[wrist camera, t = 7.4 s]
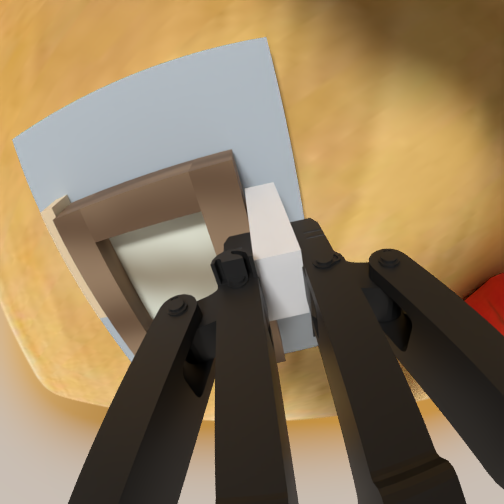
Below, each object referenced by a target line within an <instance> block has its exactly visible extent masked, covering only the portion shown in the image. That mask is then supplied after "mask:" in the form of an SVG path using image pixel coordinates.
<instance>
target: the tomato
mask: <svg viewBox="0 0 504 504" xmlns="http://www.w3.org/2000/svg"><path fill="white" fill-rule="evenodd" d="M465 302H466V303H467V304H468V305H470V306H471V307H472V308H473V309H474V310H475V311H477V312H478V313H479V314H480V315H481V316H482V317H483V318H485V319H486V320H487V321H488V322H489V323H490V324H491V325H492V326H493V327H495V328H496V329H497V330H498V331H499V332H500V333H501V334H502V335H503V336H504V272H503V273H500V274H498V275H496V276H494V277H491V278H490V279H489V280H488V281H487V282H486V283H484V284H483V285H482V286H481V287H480V288H479V289H478V290H476V291H475V292H474V293H473V294H472V295H470V296H469V297H468V298H467V299H466V300H465Z"/></svg>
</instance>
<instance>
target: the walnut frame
mask: <svg viewBox="0 0 504 504" xmlns="http://www.w3.org/2000/svg"><path fill="white" fill-rule="evenodd" d="M53 222H54V224H55V226H56V228H57V230H58V233H59V235H60V236H61V238H62V240H63V242H64V244H65V246H66V248H67V250H68V252H69V254H70V256H71V257H72V259H73V261H74V263H75V265H76V267H77V268H78V270H79V272H80V274H81V275H82V277H83V279H84V280H85V282H86V284H87V286H88V287H89V289H90V290H91V292H92V294H93V295H94V297H95V299H96V300H97V302H98V303H99V305H100V307H101V308H102V310H103V311H104V313H105V314H106V316H107V317H108V319H109V320H110V322H111V323H112V325H113V326H114V328H115V329H116V331H117V332H118V333H119V335H120V336H121V338H122V339H123V340H124V342H125V343H126V345H127V346H128V347H129V349H130V350H131V351H132V353H133V354H134V356H135V354H136V352H137V350H138V348H139V346H140V345H141V343H142V341H143V339H144V337H145V335H146V333H147V331H148V329H149V327H150V325H151V324H152V322H153V320H154V318H155V316H156V314H157V312H158V310H159V309H160V307H161V306H162V305H163V303H164V302H166V301H167V300H168V299H170V298H172V297H174V296H176V295H181V294H188V295H192V296H193V297H195V299H196V301H198V300H200V299H203V298H205V297H207V296H209V295H211V294H212V293H214V292H215V291H216V290H217V289H218V285H217V282H216V279H215V277H214V274H213V271H212V268H211V265H210V264H211V262H212V260H213V259H214V258H215V257H216V256H217V255H219V254H220V253H222V252H224V243H225V241H226V240H227V238H228V237H229V236H234V235H238V234H243V233H247V232H250V228H249V220H248V212H247V204H246V201H245V197H244V193H243V189H242V186H241V182H240V178H239V174H238V171H237V167H236V163H235V159H234V156H233V152H232V149H230V150H226V151H222V152H219V153H215V154H211V155H208V156H204V157H201V158H197V159H194V160H190V161H187V162H183V163H180V164H177V165H174V166H170V167H167V168H164V169H161V170H158V171H155V172H152V173H149V174H146V175H143V176H140V177H137V178H134V179H132V180H129V181H126V182H123V183H120V184H118V185H115V186H112V187H110V188H107V189H104V190H102V191H99V192H97V193H94V194H92V195H89V196H87V197H84V198H82V199H79V200H77V201H75V202H72V203H71V204H69V205H68V206H67V207H66V208H65V209H64V210H63V211H62V212H61V213H60V214H59V215H58V216H57V217H55V218H54V219H53ZM269 322H270V326H271V330H272V335H273V342H274V348H275V354H276V361H277V363H279V362H284V361H286V360H285V355H284V350H283V344H282V339H281V335H280V331H279V327H278V323H277V320H273V321H269Z"/></svg>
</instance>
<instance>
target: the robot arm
mask: <svg viewBox="0 0 504 504" xmlns="http://www.w3.org/2000/svg"><path fill="white" fill-rule="evenodd" d="M245 196H246V204H247V212H248V220H249V228H250V232H247V233H243V234H238V235H234V236H229V237H228V238H227V240H226V241H225V243H224V252H222V253H220V254H219V255H217V256H216V257H215V258H214V259H213V260H212V262H211V264H210V265H211V268H212V271H213V274H214V277H215V279H216V282H217V285H218V289H217V290H216V291H215V292H214V293H212V294H211V295H209V296H207V297H205V298H203V299H200V300H198V301H196V299H195V297H193V296H192V295H188V294H181V295H176V296H174V297H172V298H170V299H168V300H167V301H166V302H164V303H163V305H162V306H161V307H160V309H159V310H158V312H157V314H156V316H155V318H154V320H153V322H152V324H151V325H150V327H149V329H148V331H147V333H146V335H145V337H144V339H143V341H142V343H141V345H140V346H139V348H138V350H137V352H136V354H135V356H134V358H133V360H132V362H131V364H130V366H129V368H128V370H127V372H126V374H125V376H124V378H123V380H122V382H121V384H120V386H119V388H118V390H117V393H116V395H115V397H114V399H113V401H112V403H111V405H110V407H109V409H108V411H107V414H106V416H105V418H104V420H103V422H102V424H101V427H100V429H99V431H98V433H97V436H96V438H95V440H94V442H93V445H92V447H91V449H90V451H89V454H88V456H87V458H86V461H85V463H84V465H83V468H82V470H81V473H80V475H79V477H78V480H77V482H76V485H75V487H74V490H73V492H72V495H71V497H70V500H69V502H68V504H177V503H178V500H179V497H180V493H181V490H182V487H183V483H184V480H185V476H186V473H187V470H188V467H189V463H190V460H191V456H192V453H193V450H194V446H195V443H196V440H197V436H198V433H199V430H200V426H201V423H202V420H203V416H204V413H205V409H206V406H207V403H208V399H209V396H210V393H211V389H212V386H213V383H214V379H215V482H216V483H215V485H216V504H298V497H297V491H296V484H295V477H294V470H293V464H292V457H291V450H290V444H289V437H288V431H287V425H286V418H285V411H284V405H283V399H282V392H281V386H280V380H279V373H278V367H277V361H276V354H275V348H274V342H273V335H272V330H271V326H270V322H269V321H273V320H278V319H283V318H287V317H292V316H296V315H301V314H305V313H309V309H310V312H311V320H312V329H313V337H315V336H316V339H317V342H318V346H319V349H320V353H321V356H322V360H323V363H324V367H325V371H326V374H327V378H328V381H329V385H330V389H331V392H332V396H333V400H334V404H335V407H336V411H337V415H338V419H339V423H340V426H341V430H342V434H343V438H344V442H345V446H346V450H347V454H348V458H349V463H350V467H351V471H352V475H353V479H354V483H355V488H356V492H357V497H358V504H466V501H465V498H464V495H463V491H462V488H461V485H460V482H459V480H458V476H457V475H456V472H455V470H454V468H453V466H452V465H451V464H450V463H449V461H448V460H446V459H443V458H441V457H440V456H439V455H438V454H437V453H436V450H435V448H434V446H433V443H432V440H431V438H430V435H429V433H428V430H427V428H426V425H425V423H424V420H423V418H422V415H421V413H420V410H419V408H418V406H417V403H416V401H415V399H414V396H413V394H412V392H411V389H410V387H409V385H408V383H407V380H406V378H405V376H404V374H403V372H402V369H401V367H400V365H399V363H398V361H397V359H398V360H399V361H400V362H401V363H402V365H403V366H404V367H405V368H406V369H407V371H408V372H409V373H410V374H411V375H412V377H413V378H414V379H415V380H416V381H417V383H418V384H419V385H420V386H421V388H422V389H423V390H424V391H425V392H426V394H427V395H428V396H429V397H430V399H431V400H432V401H433V402H434V403H435V405H436V406H437V407H438V408H439V410H440V411H441V412H442V413H443V415H444V416H445V417H446V418H447V420H448V421H449V422H450V423H451V425H452V426H453V427H454V429H455V430H456V431H457V432H458V434H459V435H460V436H461V438H462V439H463V440H464V442H465V443H466V444H467V446H468V447H469V448H470V449H471V451H472V452H473V453H474V455H475V456H476V457H477V459H478V460H479V461H480V463H481V464H482V465H483V467H484V468H485V470H486V471H487V472H488V473H489V475H490V476H491V477H492V478H493V479H494V481H495V482H496V483H497V484H498V485H499V486H501V487H502V488H503V489H504V336H503V335H502V334H501V333H500V332H499V331H498V330H497V329H496V328H495V327H493V326H492V325H491V324H490V323H489V322H488V321H487V320H486V319H485V318H483V317H482V316H481V315H480V314H479V313H478V312H477V311H475V310H474V309H473V308H472V307H471V306H470V305H468V304H467V303H466V302H465V301H464V300H463V299H461V298H460V297H459V296H458V295H457V294H455V293H454V292H453V291H452V290H450V289H449V288H448V287H447V286H446V285H444V284H443V283H442V282H441V281H439V280H438V279H437V278H435V277H434V276H433V275H432V274H430V273H429V272H428V271H427V270H425V269H424V268H423V267H421V266H420V265H419V264H417V263H416V262H415V261H413V260H412V259H411V258H409V257H408V256H407V255H405V254H404V253H402V252H400V251H398V250H394V249H381V250H378V251H376V252H374V253H373V254H371V256H370V258H369V262H367V263H354V262H348V261H346V260H345V259H344V257H343V256H342V255H341V254H339V253H337V252H335V251H334V250H333V249H332V247H331V245H330V243H329V241H328V240H327V238H326V236H325V235H324V233H323V231H322V230H321V227H320V226H319V224H318V222H316V221H314V220H313V219H311V218H308V219H303V220H298V221H294V222H290V221H289V219H288V216H287V214H286V211H285V209H284V206H283V204H282V201H281V199H280V197H279V194H278V192H277V189H276V187H275V185H274V182H272V183H267V184H263V185H258V186H253V187H249V188H245ZM395 356H396V357H395ZM396 358H397V359H396Z"/></svg>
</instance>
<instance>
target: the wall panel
mask: <svg viewBox="0 0 504 504" xmlns="http://www.w3.org/2000/svg"><path fill="white" fill-rule="evenodd" d="M12 140H13V143H14V146H15V149H16V152H17V155H18V158H19V161H20V164H21V166H22V169H23V172H24V174H25V177H26V179H27V182H28V184H29V187H30V189H31V192H32V194H33V197H34V199H35V201H36V204H37V206H38V208H39V210H40V212H41V213H40V214H41V216H42V218H43V220H44V222H45V225H46V227H47V229H48V231H49V233H50V235H51V237H52V239H53V241H54V243H55V245H56V247H57V248H58V250H59V252H60V254H61V256H62V258H63V260H64V261H65V263H66V265H67V267H68V269H69V270H70V272H71V274H72V276H73V277H74V279H75V281H76V282H77V284H78V286H79V287H80V289H81V291H82V292H83V294H84V296H85V297H86V299H87V300H88V302H89V304H90V305H91V307H92V308H93V310H94V311H95V313H96V314H97V316H98V317H99V318H100V319H101V321H102V322H103V324H104V325H105V327H106V328H107V330H108V331H109V332H110V334H111V335H112V337H113V338H114V339H115V341H116V342H117V344H118V345H119V346H120V348H121V349H122V350H123V352H124V353H125V354H126V356H127V357H128V358H129V360H130V361H131V362H132V360H133V358H134V354H133V353H132V351H131V350H130V349H129V347H128V346H127V345H126V343H125V342H124V340H123V339H122V338H121V336H120V335H119V333H118V332H117V331H116V329H115V328H114V326H113V325H112V323H111V322H110V320H109V319H108V317H107V316H106V314H105V313H104V311H103V310H102V308H101V307H100V305H99V303H98V302H97V300H96V299H95V297H94V295H93V294H92V292H91V290H90V289H89V287H88V286H87V284H86V282H85V280H84V279H83V277H82V275H81V274H80V272H79V270H78V268H77V267H76V265H75V263H74V261H73V259H72V257H71V256H70V254H69V252H68V250H67V248H66V246H65V244H64V242H63V240H62V238H61V236H60V235H59V233H58V230H57V228H56V226H55V224H54V222H53V219H54V218H55V217H57V216H58V215H59V214H60V213H61V212H62V211H63V210H64V209H65V208H66V207H67V206H68V205H69V204H71V203H72V202H75V201H77V200H79V199H82V198H84V197H87V196H89V195H92V194H94V193H97V192H99V191H102V190H104V189H107V188H110V187H112V186H115V185H118V184H120V183H123V182H126V181H129V180H132V179H134V178H137V177H140V176H143V175H146V174H149V173H152V172H155V171H158V170H161V169H164V168H167V167H170V166H174V165H177V164H180V163H183V162H187V161H190V160H194V159H197V158H201V157H204V156H208V155H211V154H215V153H219V152H222V151H226V150H230V149H232V152H233V156H234V159H235V163H236V167H237V171H238V174H239V178H240V182H241V186H242V189H243V193H244V197H245V201H246V196H245V188H249V187H253V186H258V185H263V184H267V183H272V182H274V185H275V187H276V189H277V192H278V194H279V197H280V199H281V201H282V204H283V206H284V209H285V211H286V214H287V216H288V219H289V221H290V222H294V221H298V220H303V219H304V214H303V208H302V202H301V197H300V191H299V185H298V180H297V174H296V169H295V163H294V158H293V153H292V148H291V143H290V138H289V133H288V128H287V123H286V119H285V114H284V109H283V105H282V100H281V96H280V92H279V87H278V83H277V79H276V74H275V70H274V66H273V62H272V58H271V54H270V50H269V46H268V42H267V38H266V37H264V38H258V39H252V40H247V41H242V42H237V43H233V44H228V45H224V46H220V47H216V48H212V49H208V50H204V51H201V52H197V53H194V54H190V55H187V56H183V57H180V58H177V59H174V60H171V61H168V62H165V63H162V64H159V65H156V66H153V67H151V68H148V69H145V70H143V71H140V72H138V73H135V74H133V75H130V76H128V77H125V78H123V79H120V80H118V81H116V82H114V83H111V84H109V85H107V86H105V87H103V88H100V89H98V90H96V91H94V92H92V93H90V94H88V95H86V96H84V97H82V98H80V99H78V100H76V101H74V102H72V103H71V104H69V105H67V106H65V107H63V108H61V109H60V110H58V111H56V112H54V113H53V114H51V115H49V116H48V117H46V118H44V119H43V120H41V121H39V122H38V123H36V124H35V125H33V126H32V127H30V128H29V129H27V130H25V131H24V132H22V133H21V134H20V135H18V136H17V137H15V138H14V139H12ZM277 323H278V327H279V331H280V335H281V339H282V344H283V350H284V354H285V353H290V352H294V351H299V350H303V349H307V348H311V347H315V346H318V342H317V339H316V336H315V337H313V329H312V320H311V312H310V309H309V313H305V314H301V315H296V316H292V317H287V318H283V319H278V320H277Z"/></svg>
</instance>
